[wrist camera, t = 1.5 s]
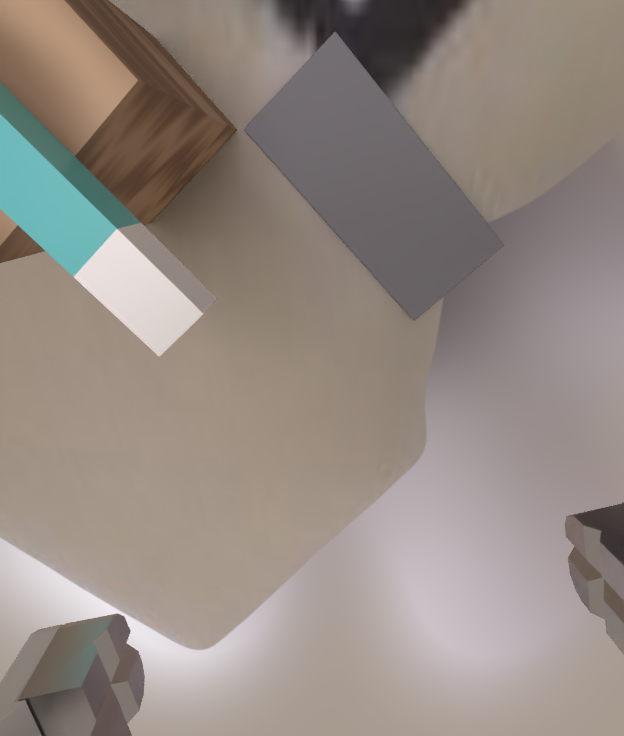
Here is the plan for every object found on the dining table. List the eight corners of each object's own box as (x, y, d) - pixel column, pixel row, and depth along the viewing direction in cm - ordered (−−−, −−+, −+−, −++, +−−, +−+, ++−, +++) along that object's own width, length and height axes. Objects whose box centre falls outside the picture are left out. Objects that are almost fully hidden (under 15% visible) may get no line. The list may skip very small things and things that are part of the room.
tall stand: (153, 36, 45) (-57, -131, 20) (237, 129, 47) (138, 80, 23) (68, 140, 48) (-203, 103, 23) (150, 222, 50) (-19, 267, 26)
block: (-183, -101, 21) (-263, -145, 18) (217, 298, 26) (203, 313, 23) (-218, -39, 21) (-301, -71, 19) (177, 337, 27) (159, 356, 24)
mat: (335, 32, 44) (335, 31, 44) (502, 244, 50) (504, 245, 49) (244, 129, 47) (243, 129, 46) (413, 319, 53) (413, 320, 52)
